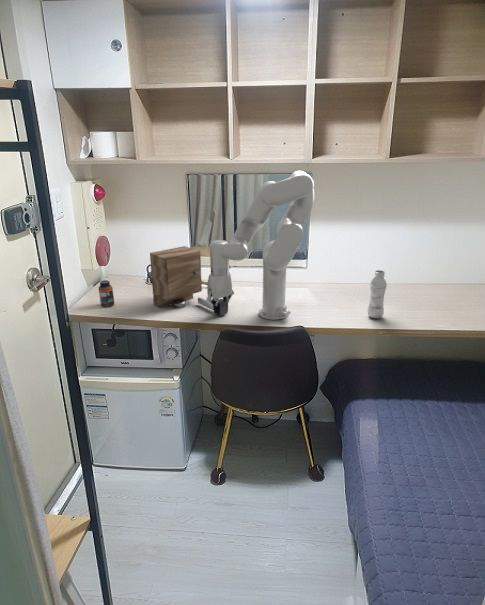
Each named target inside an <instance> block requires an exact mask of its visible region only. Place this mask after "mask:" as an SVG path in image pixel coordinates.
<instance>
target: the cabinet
mask: <svg viewBox="0 0 485 605" xmlns="http://www.w3.org/2000/svg"><path fill="white" fill-rule="evenodd" d="M201 257H202V256H201V251H200V250H197V249H195V248H191V247H188V246H186V245H184V246H178V247H174V248H168V249H162V250H157V251H152V252H149V261H150V273H151V285H152V298H153V306H155V307H157V308H159V309H161V308H164V307H169V306H172V305H174V301H175V300H178V299H183V300H185V302H186V301H190V300H194V294H196V293H200V292H202V291H203V288H202V287H203V284H201V280H202V264H201V263H202V262H201V260H202V259H201Z"/></svg>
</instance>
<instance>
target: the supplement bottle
mask: <svg viewBox="0 0 485 605" xmlns="http://www.w3.org/2000/svg"><path fill="white" fill-rule="evenodd" d="M99 283H100V284H99V286H98V294H99V302H100V306H101V307H102V308H111V307H112V306H115V298H114V290H113V285H111V283H110V280H108V279H105V280H100V281H99Z"/></svg>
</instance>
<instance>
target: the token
mask: <svg viewBox="0 0 485 605" xmlns="http://www.w3.org/2000/svg"><path fill="white" fill-rule="evenodd" d="M173 305H174V306H173V307H174V308H175V309H183V308H186V306H187V305H186V301H185V300H183V299H178V300H175V301H174V304H173Z"/></svg>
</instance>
